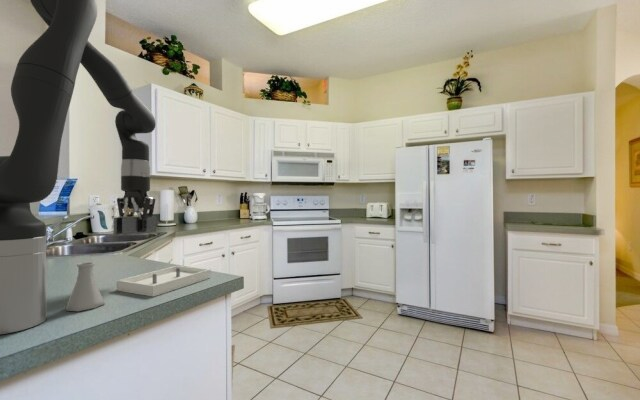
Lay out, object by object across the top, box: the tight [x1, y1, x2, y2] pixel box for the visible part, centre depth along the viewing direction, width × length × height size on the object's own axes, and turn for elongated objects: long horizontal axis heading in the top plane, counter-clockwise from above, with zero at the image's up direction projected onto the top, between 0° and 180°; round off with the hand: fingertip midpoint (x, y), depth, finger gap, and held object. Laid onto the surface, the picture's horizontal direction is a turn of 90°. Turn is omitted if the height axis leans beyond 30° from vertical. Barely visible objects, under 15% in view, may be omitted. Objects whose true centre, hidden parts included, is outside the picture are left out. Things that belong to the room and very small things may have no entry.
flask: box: [65, 261, 106, 312], centre depth 69 cm, size 7×7×10 cm
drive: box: [113, 215, 157, 236], centre depth 91 cm, size 10×5×5 cm, turn 158°
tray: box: [115, 265, 211, 297], centre depth 88 cm, size 20×14×4 cm
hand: (135, 231), depth 91 cm, fingers closed on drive, 5 cm apart
